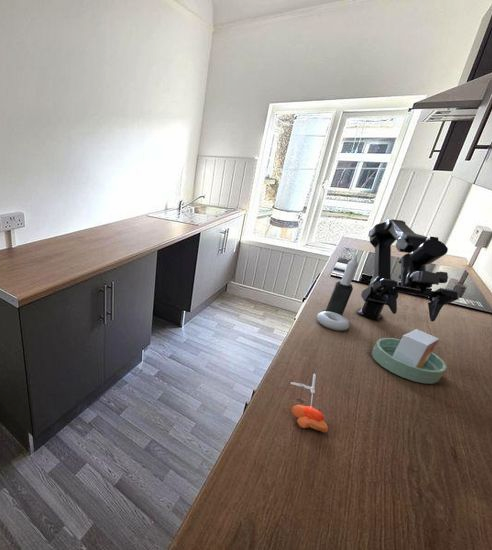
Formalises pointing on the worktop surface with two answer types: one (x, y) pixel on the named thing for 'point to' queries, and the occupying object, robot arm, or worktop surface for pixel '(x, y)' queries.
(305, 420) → the orange lobed stemmed ornament
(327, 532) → the worktop surface
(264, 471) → the worktop surface
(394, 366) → the bowl
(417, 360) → the small box
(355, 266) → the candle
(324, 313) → the donut
